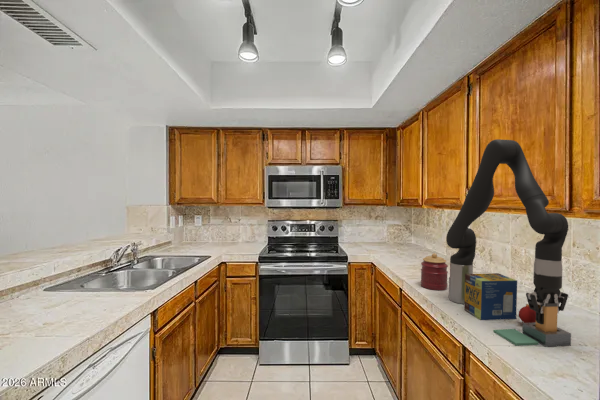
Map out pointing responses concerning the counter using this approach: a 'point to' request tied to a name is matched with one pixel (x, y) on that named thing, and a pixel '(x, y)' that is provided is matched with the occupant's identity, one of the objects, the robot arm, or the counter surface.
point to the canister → (434, 273)
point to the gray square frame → (547, 336)
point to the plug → (549, 318)
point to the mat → (515, 337)
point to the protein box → (490, 296)
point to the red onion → (527, 314)
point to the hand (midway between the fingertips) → (546, 322)
